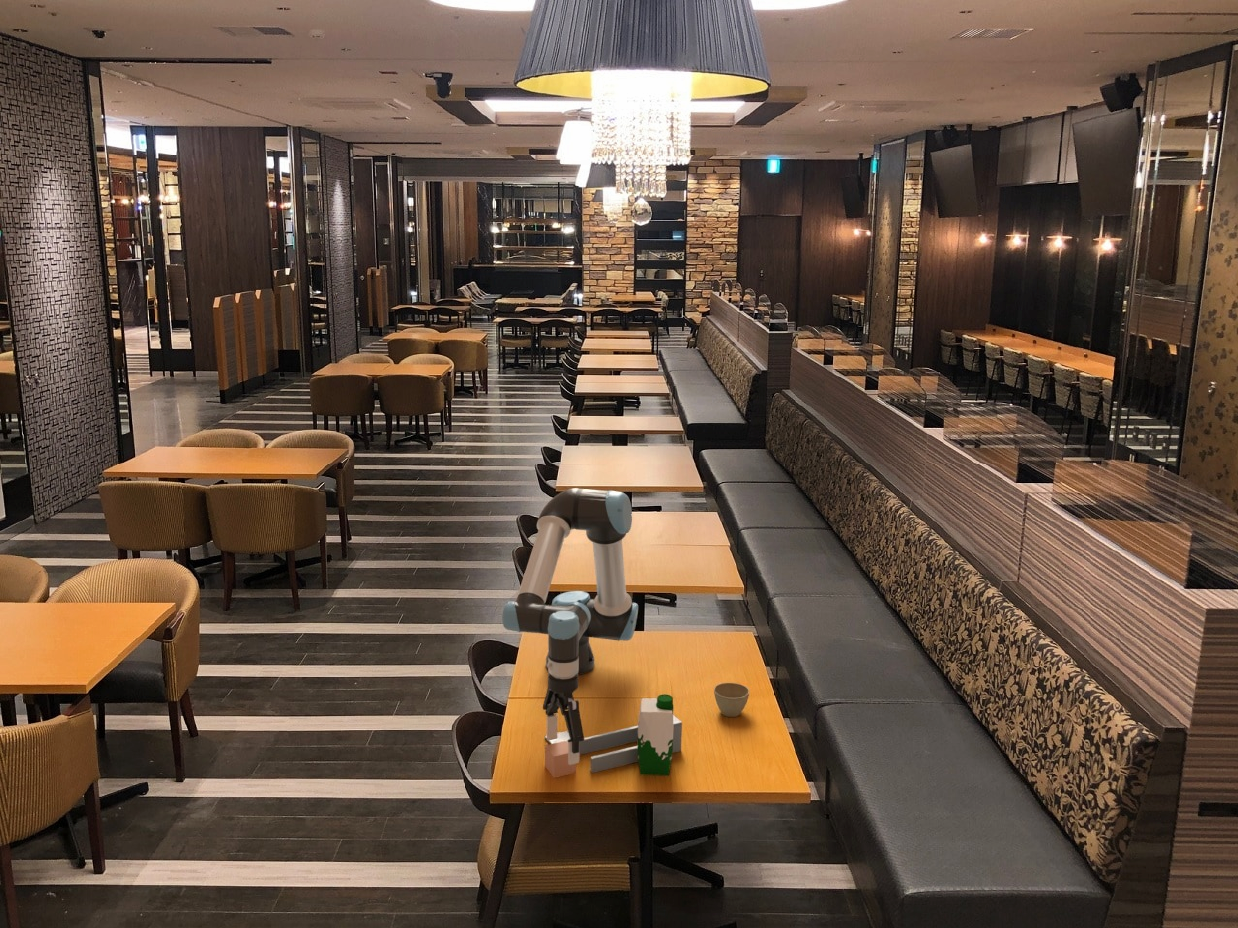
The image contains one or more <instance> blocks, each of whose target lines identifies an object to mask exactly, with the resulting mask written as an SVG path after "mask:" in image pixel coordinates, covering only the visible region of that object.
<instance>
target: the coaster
mask: <svg viewBox="0 0 1238 928" xmlns="http://www.w3.org/2000/svg"><path fill="white" fill-rule="evenodd" d="M544 739H545V740H546V741H547V743H548V745H549V744H554V743H558V742H562V741H567V742H568V740H569V739H570V737H569V733H568V730H565V731H561V732H557V739H553V740H547V735H544Z"/></svg>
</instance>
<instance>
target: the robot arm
mask: <svg viewBox="0 0 1238 928" xmlns="http://www.w3.org/2000/svg"><path fill="white" fill-rule="evenodd" d="M631 504H632V503H631V501H630V497H629V496H628V495H627V494H626V493H624V492H622V491H615V490H611V489H610V490H600V489H587V488H585V489H584V488H578V487H576V488H573V487H572V488H569V489H566V490H563V491H561V492H559V493H558V494H556V495H555V496H554V497H552V498H551V499H550V500H549V501H548V503H546V505H545V506H544V507H543V509H542V510H541V512H540V514H539V515H538V519H537V522H536V529H537V534H536V536H535V541H534V544H533V547H532V549H531V553H530V556H529V559H528V562H527V565H526V567H525V568H526V569H525V571H524V574H523V577H522V580H521V584H520V588H519V590H518V593H517V596H516V600H510V601H506V603H505V604H504V606H503V609H502V614H501V618H502V619H501V621H502V626H503V627H504V629H506V630H508V631H512V632H516V633H517V632H518V633H532V634H542V635H547V636H548V638H547V640H548V642H547V644H548V651H547V655H546V658H545V668H546V669H547V670H548V675H547V689H546V690H547V691H546V693H545V696H544V701H543V704H542V705H543V706H542V710H543V711H545V715H546V736H547V740H553V739H557V733H558V717H559V716H558V714H559V709H560V713H561V715H562V716H563V717H564V722H565V725H566V729H567V731H568V733H569V737H570V739H569V740H568V764H569V765H571V764H576V765H577V764H579V763H580V755H579V745H580V741H584V738H585V736H584V730H583V724H582V719H581V713H580V703H579V700H577V699H575V700H574V696H573V693H574V692H575V691H576V690H577V689H578V687H579V676H580V675H583V674H586V673H589V672H591V671H592V670H593V669H594V667H595V657H594V653H593V649H592V647H591V643H590V638H593V639H602V640H603V639H604V640H611V641H618V642H619V641H622V642H624V641H625V642H626V641H627V642H628V641H630V640H632V638H633V637H634V633H635V629H636V625H637V619H638V613H639V605H638V603H636V602H633V601H632V597H631V595H630V594H629V593H627V589H626V587H627V586H626V575H625V562H624V549H623V546H624V545H623V540H624V538H625V537H626V536H627V534H628V533H629V532H630V531H631V528H632V524H633V515H632V513H633V511H632V510H633V509H632V505H631ZM572 530H576V531H577V530H578V531H585V532H586V537H587V539H588V540H589V541H590V542H591V543H592V552H593V562H594V570H595V581H596V593H597V594H596V596H595V597H594V598H591V596H590V594H589V593H588V592H586V591H584V590H581V591H580V590H571V591H566V592H563V593H560V594H558V595H557V596H555V597H554V598H553V599H552V603H551V604H546V601H547V599H548V596H549V595H548V594H549V591H550V588H551V585H552V581H553V577H554V574H555V571H556V567H557V564H558V560H559V557H560V554H561V550H562V548H563V543H564V541H565V539H566V538H568V537H569V536H570V533H571V531H572ZM547 740H546V741H547Z"/></svg>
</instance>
